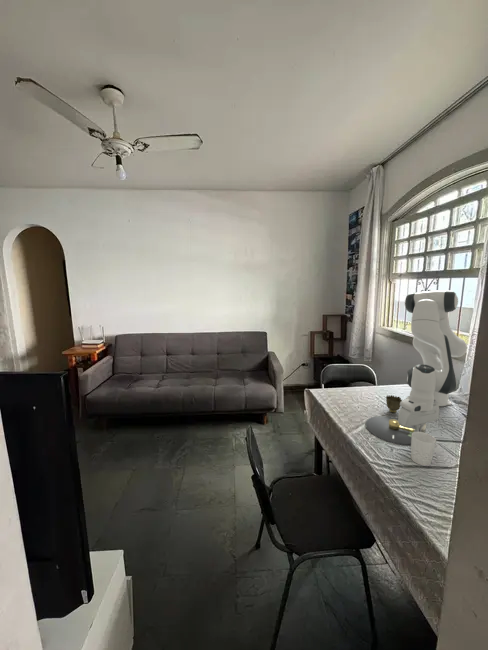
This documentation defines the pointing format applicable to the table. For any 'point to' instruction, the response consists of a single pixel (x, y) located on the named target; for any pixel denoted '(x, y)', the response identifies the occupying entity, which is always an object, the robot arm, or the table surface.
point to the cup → (393, 403)
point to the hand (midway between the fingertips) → (417, 432)
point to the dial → (388, 430)
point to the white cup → (422, 448)
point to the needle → (396, 426)
